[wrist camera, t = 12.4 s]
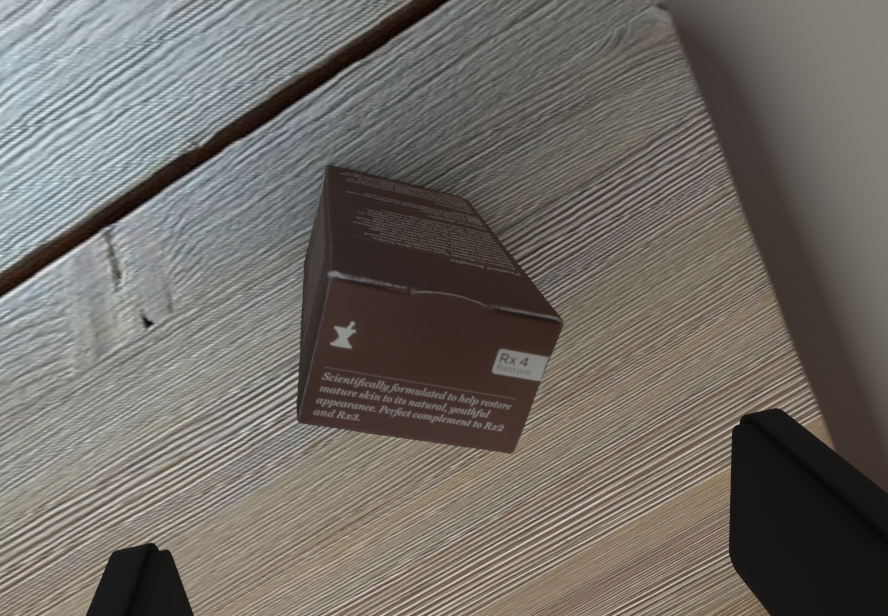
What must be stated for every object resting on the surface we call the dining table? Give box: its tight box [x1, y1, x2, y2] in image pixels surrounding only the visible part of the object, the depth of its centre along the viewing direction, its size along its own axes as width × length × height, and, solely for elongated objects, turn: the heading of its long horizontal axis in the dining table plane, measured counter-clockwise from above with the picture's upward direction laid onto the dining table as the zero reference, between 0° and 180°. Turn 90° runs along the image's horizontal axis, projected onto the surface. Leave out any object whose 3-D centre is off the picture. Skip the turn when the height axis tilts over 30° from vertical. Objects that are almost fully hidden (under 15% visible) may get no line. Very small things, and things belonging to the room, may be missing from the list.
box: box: [297, 166, 564, 454], centre depth 22 cm, size 6×4×12 cm
